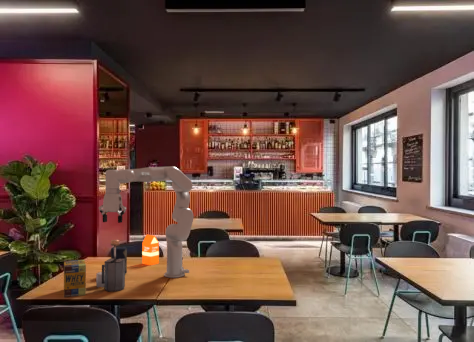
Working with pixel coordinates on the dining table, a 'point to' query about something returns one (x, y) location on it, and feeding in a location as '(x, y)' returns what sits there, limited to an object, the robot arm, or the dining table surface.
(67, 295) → the protein box
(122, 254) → the canister
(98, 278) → the glossy white dome
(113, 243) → the plunger
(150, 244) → the orange juice
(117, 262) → the carafe
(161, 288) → the dining table surface
